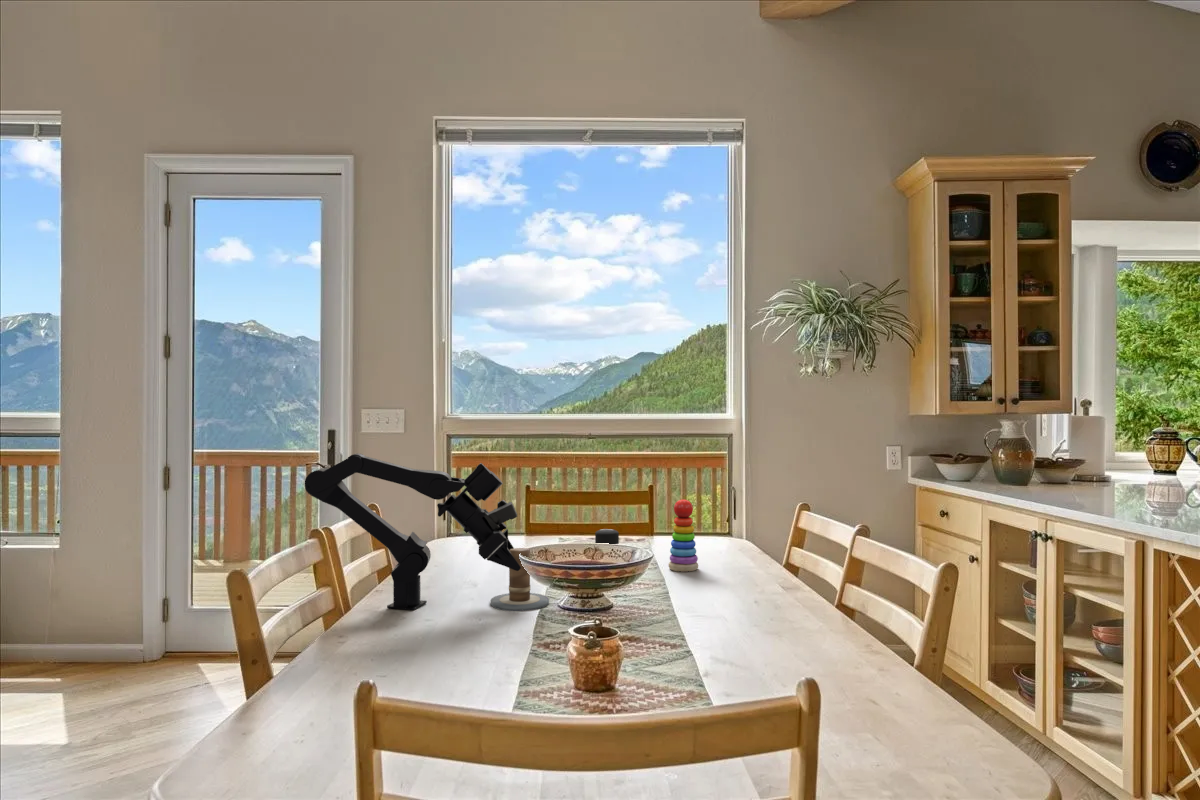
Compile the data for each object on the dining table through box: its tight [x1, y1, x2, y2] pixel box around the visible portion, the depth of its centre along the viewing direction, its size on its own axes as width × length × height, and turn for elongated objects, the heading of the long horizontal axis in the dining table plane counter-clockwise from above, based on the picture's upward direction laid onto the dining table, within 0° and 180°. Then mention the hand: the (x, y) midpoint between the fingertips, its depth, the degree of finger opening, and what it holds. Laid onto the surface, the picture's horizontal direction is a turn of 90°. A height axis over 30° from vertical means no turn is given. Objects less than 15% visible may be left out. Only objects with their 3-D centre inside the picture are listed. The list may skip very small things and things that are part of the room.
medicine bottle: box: [594, 528, 620, 545], centre depth 207 cm, size 7×7×12 cm
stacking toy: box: [668, 499, 699, 573], centre depth 217 cm, size 8×8×19 cm
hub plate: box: [489, 592, 550, 612], centre depth 181 cm, size 13×13×1 cm
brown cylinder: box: [508, 547, 531, 602], centre depth 181 cm, size 5×5×11 cm
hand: (519, 565), depth 181 cm, fingers open, 9 cm apart
